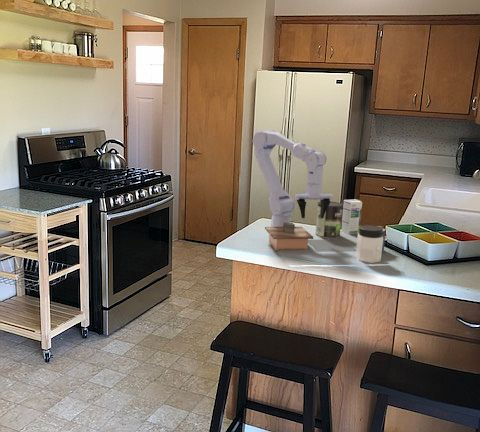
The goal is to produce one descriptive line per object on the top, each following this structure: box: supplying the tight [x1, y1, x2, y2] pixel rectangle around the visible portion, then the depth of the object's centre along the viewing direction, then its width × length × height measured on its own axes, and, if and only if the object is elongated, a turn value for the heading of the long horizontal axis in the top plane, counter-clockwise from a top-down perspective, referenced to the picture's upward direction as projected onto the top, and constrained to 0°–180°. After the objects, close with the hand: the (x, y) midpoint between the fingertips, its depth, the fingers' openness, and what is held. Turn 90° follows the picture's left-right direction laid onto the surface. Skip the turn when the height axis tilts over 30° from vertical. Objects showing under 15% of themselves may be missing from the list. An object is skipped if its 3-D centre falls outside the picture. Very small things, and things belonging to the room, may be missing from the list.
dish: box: [268, 233, 309, 252], centre depth 194 cm, size 12×12×5 cm
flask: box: [377, 225, 387, 253], centre depth 189 cm, size 9×3×11 cm, turn 138°
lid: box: [264, 221, 314, 240], centre depth 193 cm, size 15×15×4 cm
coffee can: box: [315, 200, 344, 239], centre depth 210 cm, size 10×10×14 cm
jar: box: [355, 224, 384, 264], centre depth 180 cm, size 9×8×12 cm
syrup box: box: [340, 199, 363, 235], centre depth 217 cm, size 6×6×14 cm
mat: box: [308, 239, 356, 253], centre depth 197 cm, size 16×16×1 cm
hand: (312, 217), depth 198 cm, fingers open, 7 cm apart
